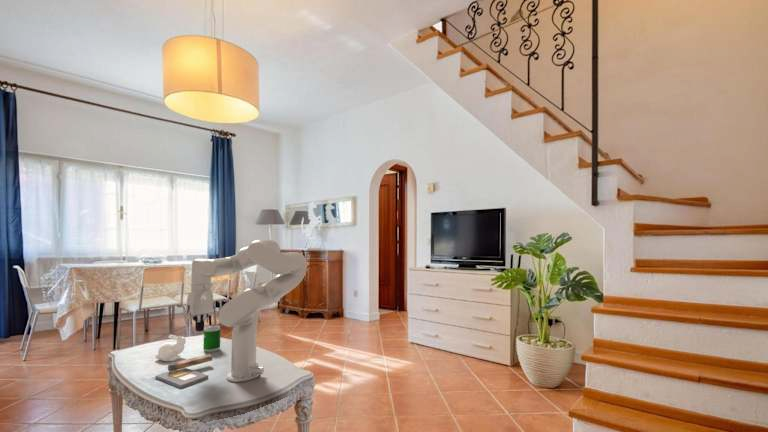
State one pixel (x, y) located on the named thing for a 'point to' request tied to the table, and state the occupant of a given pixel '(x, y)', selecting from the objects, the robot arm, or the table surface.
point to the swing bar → (189, 362)
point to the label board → (181, 377)
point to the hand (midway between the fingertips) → (199, 330)
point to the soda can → (211, 338)
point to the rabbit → (171, 349)
